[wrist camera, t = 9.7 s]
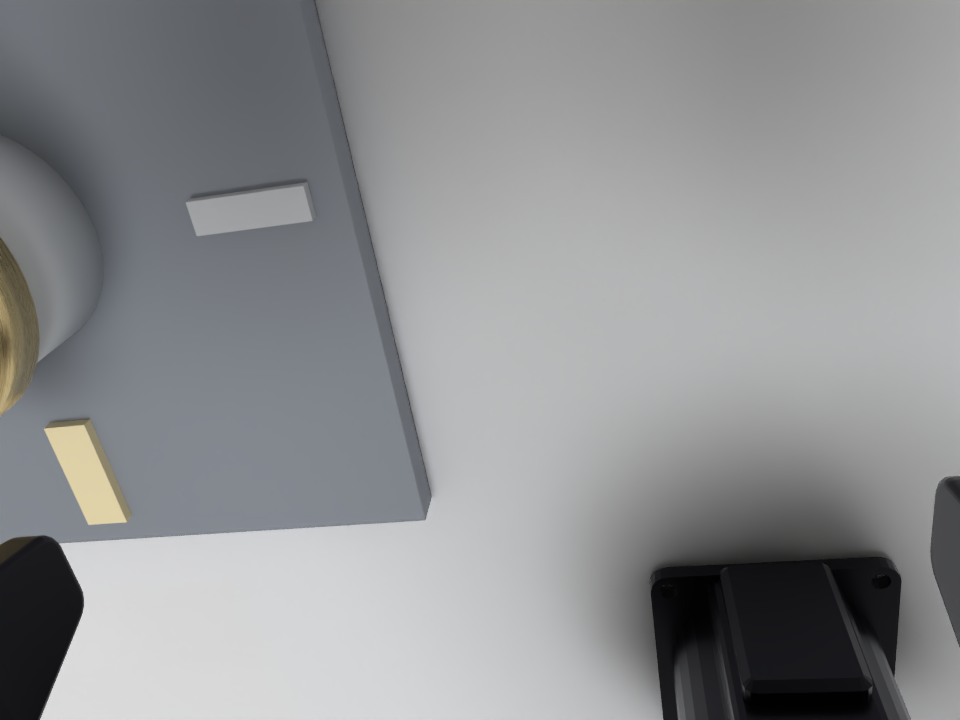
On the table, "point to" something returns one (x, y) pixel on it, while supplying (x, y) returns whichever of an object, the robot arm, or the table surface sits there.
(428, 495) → the post base
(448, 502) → the table surface
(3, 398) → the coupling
